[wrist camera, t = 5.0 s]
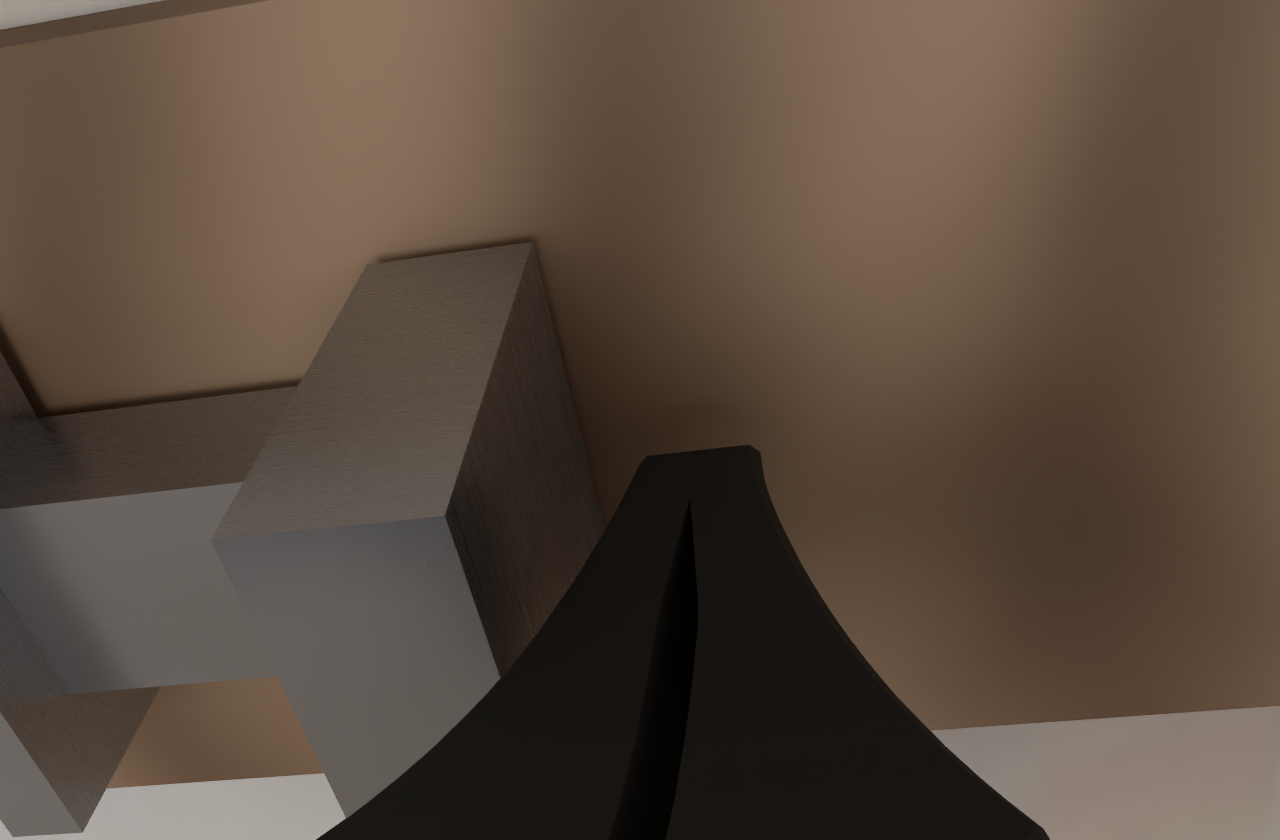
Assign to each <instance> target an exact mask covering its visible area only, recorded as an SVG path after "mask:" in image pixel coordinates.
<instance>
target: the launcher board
mask: <svg viewBox="0 0 1280 840" xmlns="http://www.w3.org/2000/svg"><path fill="white" fill-rule="evenodd" d="M527 242H533V245H534V249H535V253H536V257H537V261H538V265H539V269H540V273H541V277H542V281H543V285H544V289H545V293H546V297H547V301H548V305H549V309H550V313H551V317H552V321H553V325H554V329H555V333H556V337H557V341H558V345H559V349H560V353H561V357H562V361H563V365H564V369H565V373H566V377H567V381H568V385H569V389H570V393H571V397H572V401H573V405H574V409H575V413H576V417H577V421H578V425H579V429H580V433H581V437H582V441H583V445H584V449H585V453H586V457H587V461H588V465H589V469H590V473H591V477H592V481H593V485H594V489H595V493H596V497H597V501H598V505H599V509H600V513H601V517H602V521H603V525H604V529H606V528H607V526H608V524H609V522H610V520H611V519H612V517H613V515H614V513H615V511H616V510H617V508H618V506H619V504H620V502H621V500H622V498H623V496H624V494H625V493H626V491H627V489H628V487H629V485H630V483H631V481H632V479H633V477H634V474H635V472H636V470H637V468H638V466H639V464H640V463H641V462H642V461H643V460H644V459H645V458H646V456H650V455H659V454H668V453H677V452H686V451H695V450H705V449H714V448H723V447H732V446H741V445H751V446H752V447H754V448H755V449H757V450H758V451H759V452H761V458H762V465H763V472H764V478H765V483H766V486H767V489H768V492H769V495H770V498H771V500H772V503H773V505H774V508H775V510H776V513H777V515H778V518H779V520H780V522H781V524H782V526H783V529H784V531H785V533H786V535H787V537H788V538H789V540H790V542H791V544H792V546H793V548H794V550H795V552H796V554H797V556H798V558H799V560H800V562H801V564H802V565H803V567H804V569H805V570H806V572H807V574H808V576H809V577H810V579H811V581H812V583H813V584H814V586H815V587H816V589H817V590H818V592H819V594H820V595H821V597H822V598H823V600H824V602H825V603H826V605H827V606H828V608H829V609H830V611H831V612H832V614H833V615H834V617H835V618H836V620H837V621H838V623H839V624H840V625H841V627H842V628H843V630H844V631H845V632H846V634H847V635H848V637H849V638H850V639H851V641H852V642H853V643H854V645H855V646H856V647H857V648H858V650H859V651H860V652H861V654H862V655H863V656H864V658H865V659H866V660H867V661H868V663H869V664H870V665H871V666H872V667H873V669H874V670H875V671H876V672H877V673H878V675H879V676H880V677H881V678H882V679H883V681H884V682H885V683H886V684H887V685H888V687H889V688H890V689H891V690H892V691H893V692H894V694H895V695H896V696H897V697H898V698H899V699H900V700H901V701H902V702H903V703H904V704H905V705H906V706H907V707H908V708H909V709H910V710H911V711H912V712H913V713H914V714H915V715H916V716H917V718H918V719H919V720H920V721H921V722H922V723H923V724H924V725H925V726H926V727H927V728H928V729H929V730H941V729H955V728H969V727H983V726H998V725H1012V724H1026V723H1040V722H1054V721H1069V720H1083V719H1097V718H1111V717H1125V716H1139V715H1154V714H1168V713H1182V712H1196V711H1210V710H1224V709H1239V708H1253V707H1267V706H1280V0H166V1H161V2H155V3H150V4H144V5H139V6H133V7H127V8H122V9H116V10H111V11H105V12H100V13H94V14H88V15H83V16H77V17H72V18H66V19H61V20H55V21H49V22H44V23H38V24H33V25H27V26H22V27H16V28H10V29H5V30H0V351H1V353H2V354H3V356H4V358H5V360H6V362H7V363H8V365H9V367H10V369H11V371H12V373H13V374H14V376H15V378H16V380H17V382H18V383H19V385H20V387H21V389H22V391H23V392H24V394H25V396H26V398H27V400H28V402H29V403H30V405H31V407H32V409H33V411H34V412H35V414H36V416H37V418H44V417H52V416H60V415H68V414H76V413H85V412H93V411H101V410H109V409H117V408H125V407H133V406H141V405H149V404H157V403H165V402H173V401H182V400H190V399H198V398H206V397H214V396H222V395H230V394H238V393H246V392H254V391H262V390H270V389H279V388H287V387H295V386H298V385H299V383H300V381H301V380H302V378H303V376H304V374H305V373H306V371H307V369H308V367H309V366H310V364H311V362H312V360H313V359H314V357H315V355H316V353H317V352H318V350H319V348H320V346H321V345H322V343H323V341H324V339H325V337H326V336H327V334H328V332H329V330H330V329H331V327H332V325H333V323H334V322H335V320H336V318H337V316H338V315H339V313H340V311H341V309H342V308H343V306H344V304H345V302H346V300H347V299H348V297H349V295H350V293H351V292H352V290H353V288H354V286H355V285H356V283H357V281H358V279H359V278H360V276H361V274H362V272H363V271H364V269H365V267H366V265H369V264H376V263H383V262H390V261H398V260H405V259H412V258H419V257H426V256H434V255H441V254H448V253H455V252H462V251H469V250H477V249H484V248H491V247H498V246H505V245H513V244H520V243H527ZM317 773H324V771H323V769H322V767H321V765H320V763H319V761H318V759H317V757H316V755H315V753H314V751H313V749H312V747H311V745H310V743H309V741H308V739H307V737H306V735H305V733H304V730H303V728H302V726H301V724H300V722H299V720H298V718H297V716H296V714H295V712H294V710H293V708H292V706H291V704H290V702H289V700H288V698H287V696H286V694H285V692H284V690H283V687H282V685H281V683H280V681H279V679H278V677H265V678H253V679H241V680H229V681H217V682H205V683H194V684H182V685H170V686H161V687H160V689H159V691H158V693H157V695H156V697H155V698H154V700H153V702H152V704H151V706H150V708H149V710H148V711H147V713H146V715H145V717H144V719H143V721H142V723H141V725H140V726H139V728H138V730H137V732H136V734H135V736H134V738H133V739H132V741H131V743H130V745H129V747H128V749H127V751H126V753H125V754H124V756H123V758H122V760H121V762H120V764H119V766H118V767H117V769H116V771H115V773H114V775H113V777H112V779H111V780H110V782H109V784H108V786H107V788H119V787H133V786H147V785H161V784H175V783H190V782H204V781H218V780H232V779H246V778H260V777H275V776H289V775H303V774H317Z"/></svg>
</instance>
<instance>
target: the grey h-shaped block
mask: <svg viewBox="0 0 1280 840" xmlns="http://www.w3.org/2000/svg"><path fill="white" fill-rule="evenodd" d="M604 531H605V529H604V525H603V521H602V517H601V513H600V509H599V505H598V501H597V497H596V493H595V489H594V485H593V481H592V477H591V473H590V469H589V465H588V461H587V457H586V453H585V449H584V445H583V441H582V437H581V433H580V429H579V425H578V421H577V417H576V413H575V409H574V405H573V401H572V397H571V393H570V389H569V385H568V381H567V377H566V373H565V369H564V365H563V361H562V357H561V353H560V349H559V345H558V341H557V337H556V333H555V329H554V325H553V321H552V317H551V313H550V309H549V305H548V301H547V297H546V293H545V289H544V285H543V281H542V277H541V273H540V269H539V265H538V261H537V257H536V253H535V249H534V245H533V242H527V243H520V244H513V245H505V246H498V247H491V248H484V249H477V250H469V251H462V252H455V253H448V254H441V255H434V256H426V257H419V258H412V259H405V260H398V261H390V262H383V263H376V264H369V265H366V267H365V269H364V271H363V272H362V274H361V276H360V278H359V279H358V281H357V283H356V285H355V286H354V288H353V290H352V292H351V293H350V295H349V297H348V299H347V300H346V302H345V304H344V306H343V308H342V309H341V311H340V313H339V315H338V316H337V318H336V320H335V322H334V323H333V325H332V327H331V329H330V330H329V332H328V334H327V336H326V337H325V339H324V341H323V343H322V345H321V346H320V348H319V350H318V352H317V353H316V355H315V357H314V359H313V360H312V362H311V364H310V366H309V367H308V369H307V371H306V373H305V374H304V376H303V378H302V380H301V381H300V383H299V385H298V386H295V387H287V388H279V389H270V390H262V391H254V392H246V393H238V394H230V395H222V396H214V397H206V398H198V399H190V400H182V401H173V402H165V403H157V404H149V405H141V406H133V407H125V408H117V409H109V410H101V411H93V412H85V413H76V414H68V415H60V416H52V417H44V418H37V416H36V414H35V412H34V411H33V409H32V407H31V405H30V403H29V402H28V400H27V398H26V396H25V394H24V392H23V391H22V389H21V387H20V385H19V383H18V382H17V380H16V378H15V376H14V374H13V373H12V371H11V369H10V367H9V365H8V363H7V362H6V360H5V358H4V356H3V354H2V353H1V351H0V820H1V821H2V822H3V824H4V825H5V826H6V828H7V829H8V831H9V832H10V833H11V835H12V836H13V837H19V836H35V835H50V834H66V833H81V832H83V831H84V829H85V827H86V825H87V823H88V822H89V820H90V818H91V816H92V814H93V812H94V810H95V808H96V807H97V805H98V803H99V801H100V799H101V797H102V795H103V794H104V792H105V790H106V788H107V786H108V784H109V782H110V780H111V779H112V777H113V775H114V773H115V771H116V769H117V767H118V766H119V764H120V762H121V760H122V758H123V756H124V754H125V753H126V751H127V749H128V747H129V745H130V743H131V741H132V739H133V738H134V736H135V734H136V732H137V730H138V728H139V726H140V725H141V723H142V721H143V719H144V717H145V715H146V713H147V711H148V710H149V708H150V706H151V704H152V702H153V700H154V698H155V697H156V695H157V693H158V691H159V689H160V687H161V686H170V685H182V684H194V683H205V682H217V681H229V680H241V679H253V678H265V677H278V679H279V681H280V683H281V685H282V687H283V690H284V692H285V694H286V696H287V698H288V700H289V702H290V704H291V706H292V708H293V710H294V712H295V714H296V716H297V718H298V720H299V722H300V724H301V726H302V728H303V730H304V733H305V735H306V737H307V739H308V741H309V743H310V745H311V747H312V749H313V751H314V753H315V755H316V757H317V759H318V761H319V763H320V765H321V767H322V769H323V771H324V773H325V776H326V778H327V780H328V782H329V784H330V786H331V788H332V790H333V792H334V794H335V796H336V798H337V800H338V802H339V804H340V806H341V808H342V810H343V812H344V814H345V816H346V818H348V817H349V816H350V815H352V814H353V813H354V812H356V811H357V810H358V809H359V808H361V807H362V806H363V805H365V804H366V803H367V802H369V801H370V800H371V799H372V798H374V797H375V796H376V795H377V794H379V793H380V792H381V791H382V790H384V789H385V788H386V787H387V786H388V785H390V784H391V783H392V782H393V781H395V780H396V779H397V778H398V777H400V776H401V775H402V774H403V773H404V772H405V771H407V770H408V769H409V768H410V767H411V766H412V765H414V764H415V763H416V762H417V761H418V760H419V759H420V758H422V757H423V756H424V755H425V754H426V753H427V752H428V751H430V750H431V749H432V748H433V747H434V746H435V745H436V744H437V743H438V742H439V741H440V740H441V739H442V738H443V737H444V736H445V735H446V734H447V733H448V732H449V731H450V730H451V729H452V728H453V727H454V726H456V725H457V724H458V723H459V722H460V721H461V720H462V719H463V718H464V717H465V716H466V715H467V714H468V712H469V711H470V710H471V709H472V708H473V707H474V706H475V705H476V704H477V703H478V702H479V701H480V700H481V699H482V698H483V697H484V696H485V695H486V694H487V693H488V692H489V690H490V689H491V688H492V687H493V686H494V685H495V684H496V683H497V681H498V680H499V679H500V678H501V677H502V676H503V674H504V673H505V672H506V671H507V670H508V669H509V667H510V666H511V665H512V664H513V663H514V662H515V660H516V659H517V658H518V657H519V655H520V654H521V653H522V652H523V651H524V649H525V648H526V647H527V645H528V644H529V643H530V642H531V640H532V639H533V638H534V636H535V635H536V634H537V633H538V631H539V630H540V629H541V627H542V626H543V624H544V623H545V622H546V620H547V619H548V617H549V616H550V614H551V613H552V612H553V610H554V609H555V607H556V606H557V604H558V603H559V602H560V600H561V599H562V597H563V596H564V595H565V593H566V592H567V590H568V589H569V587H570V586H571V585H572V583H573V582H574V580H575V578H576V577H577V575H578V574H579V572H580V571H581V569H582V567H583V566H584V564H585V562H586V561H587V559H588V558H589V556H590V554H591V553H592V551H593V549H594V548H595V546H596V544H597V543H598V541H599V539H600V538H601V536H602V535H603V533H604Z"/></svg>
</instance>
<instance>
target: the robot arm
mask: <svg viewBox="0 0 1280 840" xmlns="http://www.w3.org/2000/svg"><path fill="white" fill-rule="evenodd" d="M316 840H1050V839H1049V837H1048V836H1047V834H1046V832H1045V831H1044V829H1043V828H1042V827H1041V826H1039V825H1038V824H1037V823H1035V822H1034V821H1033V820H1032V819H1030V818H1029V817H1028V816H1026V815H1025V814H1024V813H1023V812H1021V811H1020V810H1019V809H1017V808H1016V807H1015V806H1014V805H1012V804H1011V803H1010V802H1008V801H1007V800H1006V799H1005V798H1004V797H1002V796H1001V795H1000V794H999V793H998V792H996V791H995V790H994V789H993V788H992V787H990V786H989V785H988V784H987V783H986V782H984V781H983V780H982V779H981V778H980V777H979V776H978V775H976V774H975V773H974V772H973V771H972V770H971V769H970V768H969V767H968V766H967V765H965V764H964V763H963V762H962V761H961V760H960V759H959V758H958V757H957V756H956V755H954V754H953V753H952V752H951V751H950V750H949V749H948V748H947V747H946V746H945V745H944V744H943V743H942V742H941V741H940V740H939V739H938V738H937V737H936V736H935V735H934V734H933V733H932V732H931V731H930V730H929V729H928V728H927V727H926V726H925V725H924V724H923V723H922V722H921V721H920V720H919V719H918V718H917V716H916V715H915V714H914V713H913V712H912V711H911V710H910V709H909V708H908V707H907V706H906V705H905V704H904V703H903V702H902V701H901V700H900V699H899V698H898V697H897V696H896V695H895V694H894V692H893V691H892V690H891V689H890V688H889V687H888V685H887V684H886V683H885V682H884V681H883V679H882V678H881V677H880V676H879V675H878V673H877V672H876V671H875V670H874V669H873V667H872V666H871V665H870V664H869V663H868V661H867V660H866V659H865V658H864V656H863V655H862V654H861V652H860V651H859V650H858V648H857V647H856V646H855V645H854V643H853V642H852V641H851V639H850V638H849V637H848V635H847V634H846V632H845V631H844V630H843V628H842V627H841V625H840V624H839V623H838V621H837V620H836V618H835V617H834V615H833V614H832V612H831V611H830V609H829V608H828V606H827V605H826V603H825V602H824V600H823V598H822V597H821V595H820V594H819V592H818V590H817V589H816V587H815V586H814V584H813V583H812V581H811V579H810V577H809V576H808V574H807V572H806V570H805V569H804V567H803V565H802V564H801V562H800V560H799V558H798V556H797V554H796V552H795V550H794V548H793V546H792V544H791V542H790V540H789V538H788V537H787V535H786V533H785V531H784V529H783V526H782V524H781V522H780V520H779V518H778V515H777V513H776V510H775V508H774V505H773V503H772V500H771V498H770V495H769V492H768V489H767V486H766V483H765V478H764V472H763V465H762V458H761V452H759V451H758V450H757V449H755V448H754V447H752V446H751V445H741V446H732V447H723V448H714V449H705V450H695V451H686V452H677V453H668V454H659V455H650V456H646V458H645V459H644V460H643V461H642V462H641V463H640V464H639V466H638V468H637V470H636V472H635V474H634V477H633V479H632V481H631V483H630V485H629V487H628V489H627V491H626V493H625V494H624V496H623V498H622V500H621V502H620V504H619V506H618V508H617V510H616V511H615V513H614V515H613V517H612V519H611V520H610V522H609V524H608V526H607V528H606V529H605V531H604V533H603V535H602V536H601V538H600V539H599V541H598V543H597V544H596V546H595V548H594V549H593V551H592V553H591V554H590V556H589V558H588V559H587V561H586V562H585V564H584V566H583V567H582V569H581V571H580V572H579V574H578V575H577V577H576V578H575V580H574V582H573V583H572V585H571V586H570V587H569V589H568V590H567V592H566V593H565V595H564V596H563V597H562V599H561V600H560V602H559V603H558V604H557V606H556V607H555V609H554V610H553V612H552V613H551V614H550V616H549V617H548V619H547V620H546V622H545V623H544V624H543V626H542V627H541V629H540V630H539V631H538V633H537V634H536V635H535V636H534V638H533V639H532V640H531V642H530V643H529V644H528V645H527V647H526V648H525V649H524V651H523V652H522V653H521V654H520V655H519V657H518V658H517V659H516V660H515V662H514V663H513V664H512V665H511V666H510V667H509V669H508V670H507V671H506V672H505V673H504V674H503V676H502V677H501V678H500V679H499V680H498V681H497V683H496V684H495V685H494V686H493V687H492V688H491V689H490V690H489V692H488V693H487V694H486V695H485V696H484V697H483V698H482V699H481V700H480V701H479V702H478V703H477V704H476V705H475V706H474V707H473V708H472V709H471V710H470V711H469V712H468V714H467V715H466V716H465V717H464V718H463V719H462V720H461V721H460V722H459V723H458V724H457V725H456V726H454V727H453V728H452V729H451V730H450V731H449V732H448V733H447V734H446V735H445V736H444V737H443V738H442V739H441V740H440V741H439V742H438V743H437V744H436V745H435V746H434V747H433V748H432V749H431V750H430V751H428V752H427V753H426V754H425V755H424V756H423V757H422V758H420V759H419V760H418V761H417V762H416V763H415V764H414V765H412V766H411V767H410V768H409V769H408V770H407V771H405V772H404V773H403V774H402V775H401V776H400V777H398V778H397V779H396V780H395V781H393V782H392V783H391V784H390V785H388V786H387V787H386V788H385V789H384V790H382V791H381V792H380V793H379V794H377V795H376V796H375V797H374V798H372V799H371V800H370V801H369V802H367V803H366V804H365V805H363V806H362V807H361V808H359V809H358V810H357V811H356V812H354V813H353V814H352V815H350V816H349V817H348V818H346V819H345V820H343V821H342V822H340V823H339V824H338V825H336V826H335V827H333V828H332V829H330V830H329V831H328V832H326V833H325V834H323V835H322V836H321V837H319V838H318V839H316Z"/></svg>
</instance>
